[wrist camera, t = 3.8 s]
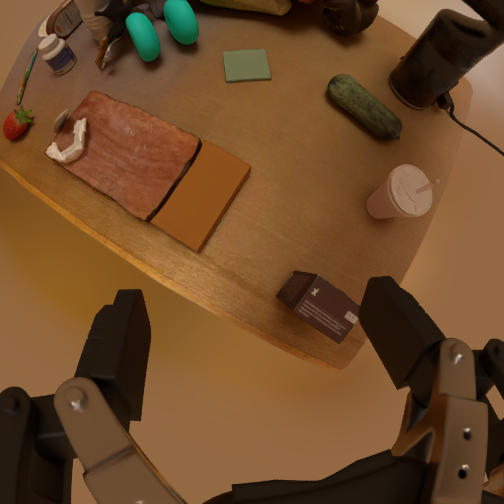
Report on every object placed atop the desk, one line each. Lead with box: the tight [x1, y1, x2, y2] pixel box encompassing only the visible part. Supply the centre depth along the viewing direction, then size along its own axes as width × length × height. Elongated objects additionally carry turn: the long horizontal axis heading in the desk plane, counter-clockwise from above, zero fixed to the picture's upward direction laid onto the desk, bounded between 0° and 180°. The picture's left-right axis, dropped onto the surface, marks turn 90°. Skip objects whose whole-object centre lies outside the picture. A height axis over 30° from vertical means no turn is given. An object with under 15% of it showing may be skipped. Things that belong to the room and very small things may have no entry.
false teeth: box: [46, 118, 87, 163], centre depth 32 cm, size 8×6×2 cm
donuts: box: [126, 0, 199, 61], centre depth 33 cm, size 10×10×10 cm
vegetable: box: [328, 74, 402, 140], centre depth 36 cm, size 14×5×5 cm, turn 49°
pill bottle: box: [39, 34, 76, 75], centre depth 33 cm, size 5×5×9 cm
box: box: [276, 271, 360, 344], centre depth 31 cm, size 6×4×12 cm
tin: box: [46, 0, 83, 38], centre depth 34 cm, size 15×3×8 cm, turn 157°
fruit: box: [3, 105, 33, 140], centre depth 33 cm, size 5×5×8 cm
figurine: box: [94, 0, 135, 66], centre depth 30 cm, size 11×7×15 cm
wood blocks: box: [101, 0, 150, 68], centre depth 32 cm, size 25×3×10 cm
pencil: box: [15, 48, 37, 105], centre depth 36 cm, size 1×1×18 cm
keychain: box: [53, 108, 70, 133], centre depth 33 cm, size 10×1×3 cm
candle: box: [74, 0, 125, 44], centre depth 30 cm, size 7×7×15 cm
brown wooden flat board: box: [44, 91, 251, 252], centre depth 35 cm, size 13×30×3 cm, turn 59°
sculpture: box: [322, 0, 379, 36], centre depth 32 cm, size 11×11×15 cm
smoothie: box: [366, 164, 440, 219], centre depth 31 cm, size 6×6×14 cm
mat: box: [223, 49, 271, 83], centre depth 38 cm, size 7×7×1 cm
